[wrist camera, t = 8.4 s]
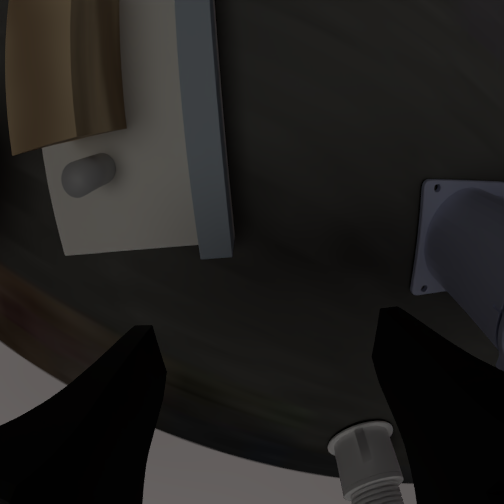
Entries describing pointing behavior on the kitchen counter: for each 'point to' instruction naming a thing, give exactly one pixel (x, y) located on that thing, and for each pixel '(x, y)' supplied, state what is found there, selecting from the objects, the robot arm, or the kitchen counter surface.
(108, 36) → the brown tapered block
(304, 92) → the kitchen counter surface
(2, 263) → the kitchen counter surface
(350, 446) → the white threaded pipe fitting
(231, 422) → the kitchen counter surface
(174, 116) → the board
